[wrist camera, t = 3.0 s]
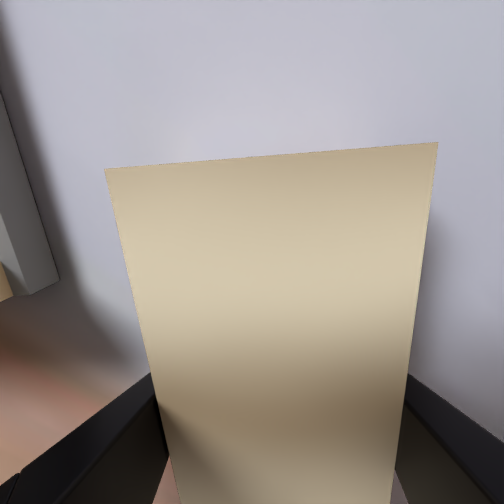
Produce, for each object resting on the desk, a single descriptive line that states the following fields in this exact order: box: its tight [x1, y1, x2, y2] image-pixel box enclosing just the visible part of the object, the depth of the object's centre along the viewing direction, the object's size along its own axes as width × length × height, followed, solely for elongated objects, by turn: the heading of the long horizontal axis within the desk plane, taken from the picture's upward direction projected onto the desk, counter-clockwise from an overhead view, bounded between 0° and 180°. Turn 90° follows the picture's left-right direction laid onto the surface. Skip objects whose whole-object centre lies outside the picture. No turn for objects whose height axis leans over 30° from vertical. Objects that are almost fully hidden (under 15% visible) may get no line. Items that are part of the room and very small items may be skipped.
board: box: [104, 142, 438, 504], centre depth 7 cm, size 11×5×3 cm, turn 4°
